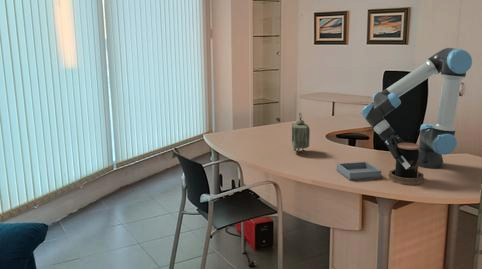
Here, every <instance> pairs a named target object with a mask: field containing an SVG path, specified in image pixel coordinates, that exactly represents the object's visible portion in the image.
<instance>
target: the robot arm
mask: <svg viewBox="0 0 482 269" xmlns="http://www.w3.org/2000/svg"><path fill="white" fill-rule="evenodd" d="M471 55H472V54H470V53H469V52H468V51H467V50H465V49H461V48H453V47H447V48H443V49H441V50H439V51H437V52H436V53H434V54H433V55H431V56H430V57H429V58H427V59H426V61H425V62H424V63H423V64H422V65H420V66H418V67H417V68H416V69H414V70H413V71H411V72H409V73H408V74H406V75H405V76H404V77H401V79H398V81H396V82H394V83H393V84H391V85H390V86H389V87H387V88H386V89H384V90H382V91H379V92H378V91H377V92H376V93H374V94H373V96H372V102H373V103H369V104H368V105H365V106H364V107H363V108H362V109H361V112H360V113H361V115H362V116H363V118H364V119H365V120H366V122H367V123H368V125H370V127H371V128H372V129H373V130H374V132H376V134H378V136H379V138H380V139H381V140H382V141H383V142H384V144H385V146H386V147H387V149H388V150H389V152H390V154H391V155H392V157H393V159H395V161H396V160H397V159H398V160H399V161H400V162H401V164H402V165H403V166H404V167H405V169H408V168H409V167H410V164H409V163H408V162H407V161H406V160H405V158H404V157H403V156H401V154H400V152H399V150H398V147H397V144H398V143H406V142H405V140H403V139H402V138H401V137H400V136H399V135H398V134H397V135H395V134H396V131H395V130H394V129H393V127H392V126H391V125H390V124H389V122H388V121H387V120H386V119H385V118H384V117H385V116H387V115H388V114H389V113H391V112H392V111H394V110H395V109H397V108H398V107H399V106H401V103H402V101H401V99H400V97H401V96H402V95H405V94H406V93H407V92H409V91H411V90H412V89H414V88H415V87H417V86H418V85H420V84H421V83H423V82H424V81H426V80H427V79H429V78H430V77H432V76H434V75H435V76H436V75H439V74H440V75H441V77H442V78H443V79H442V84H441V89H440V90H441V91H440V96H439V100H438V101H439V102H438V108H437V114H436V118H435V123H423V124H421V125H420V128H419V139H418V140H419V141H418V145H419V146H420V147H419V149H418V150H419V160H418V167H421V168H427V169H438V168H442V167H444V158H443V156H442V155H445V156H446V155H449V154H451V153H452V152H454V151H455V150H456V148H457V145H458V140H457V138H456V136H455V135H456V127H455V126H454V125H455V124H454V123H455V117H456V113H457V112H456V111H457V106H458V100H459V95H460V90H461V84H462V80H464V79H465V78H466V76H467V72H468V71H469V70H470V69H471V67H472V64H473V58H472V56H471Z"/></svg>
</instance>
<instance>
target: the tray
mask: <svg viewBox="0 0 482 269" xmlns="http://www.w3.org/2000/svg"><path fill="white" fill-rule="evenodd" d="M336 172H338V173H339V174H340V175H341V176H343V177H344V178H345V179H347V180H348V181H350V182H351V181H358V180H359V181H360V180H361V181H363V180H375V179H381V178H382V170H380V169H379V168H377V167H376V166H374V165H372V164H371V163H369V162H368V161H355V162H354V161H353V162H339V163H336Z"/></svg>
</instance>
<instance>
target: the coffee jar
mask: <svg viewBox="0 0 482 269" xmlns="http://www.w3.org/2000/svg"><path fill="white" fill-rule="evenodd" d="M419 147H420V146H419V144H417V143H413V142H405V143H398V144H397V148H398V150H399V152H400V154H401V156H403V157H404V158H405V160H406V161H407V162H408V163H409V164H410V167H409V168H408V169H405V167H404V166H403V165H402V164H401V162H400V161H399V160H398V159H397V160H396V159H395V168H394V169H395V176H398V177H402V178H417V172H418V170H419V166H418V160H419Z"/></svg>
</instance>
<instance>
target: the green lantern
mask: <svg viewBox="0 0 482 269" xmlns="http://www.w3.org/2000/svg"><path fill="white" fill-rule="evenodd" d="M298 114H299V115H298V116H299V118H298V119H297V121H296V122H294V123H293V122H292V124H291V146H292V148H293V151H296V150H297V151H296V152H295V155H299V151H300V149H302V150H301V152H302V153H305V149H307V148H309V147H310V135H311V134H310V131H311V130H310V126H309V125H308V124H307V123H305V121H304V120H303V119H302V117H303V116H302V112H301V111H300V112H299V113H298Z"/></svg>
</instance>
